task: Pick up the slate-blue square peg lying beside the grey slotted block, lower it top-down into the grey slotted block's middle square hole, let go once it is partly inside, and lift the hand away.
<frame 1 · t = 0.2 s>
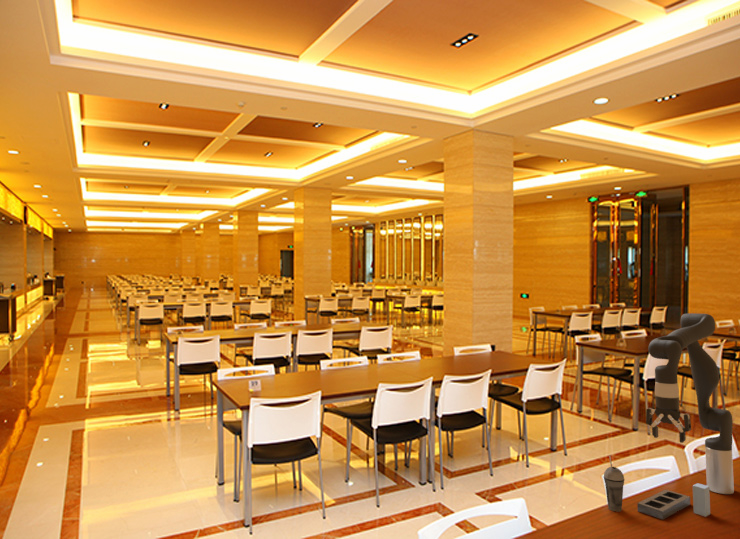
hand: (668, 439, 185), 28 cm above the table, tool pointing down, fingers open, 8 cm apart
peg: (701, 513, 188), on the table
beverage cup: (614, 509, 192), on the table
grey slotted block: (664, 507, 193), on the table
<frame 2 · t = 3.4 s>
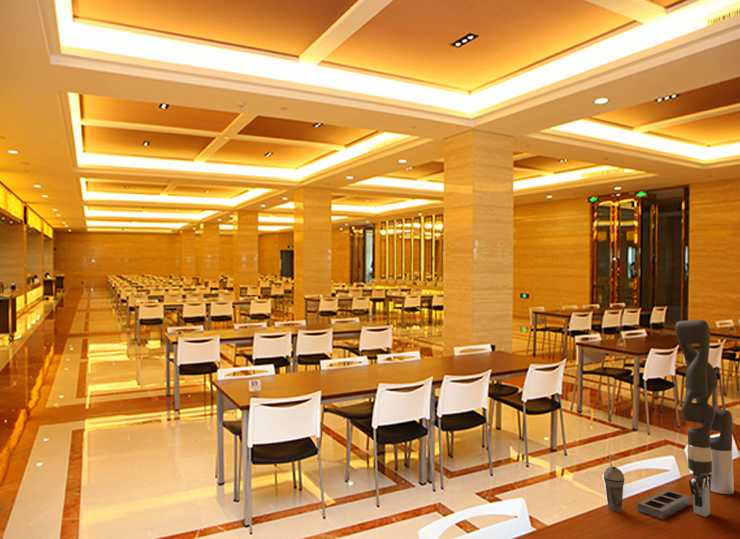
hand: (701, 504, 188), 3 cm above the table, tool pointing down, fingers closed on peg, 4 cm apart
peg: (701, 513, 188), on the table, touching gripper
everything else where it was.
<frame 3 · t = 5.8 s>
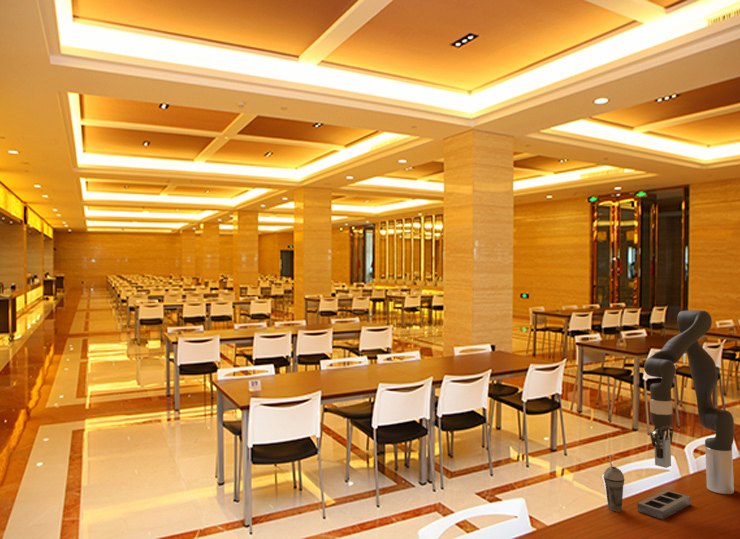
hand: (662, 456, 193), 19 cm above the table, tool pointing down, fingers closed on peg, 4 cm apart
peg: (663, 465, 193), point 16 cm above the table, touching gripper
everything else where it was.
when the fingers open (5 cm above the table, at t = 8.2 s): peg drops 1 cm, resting in grey slotted block.
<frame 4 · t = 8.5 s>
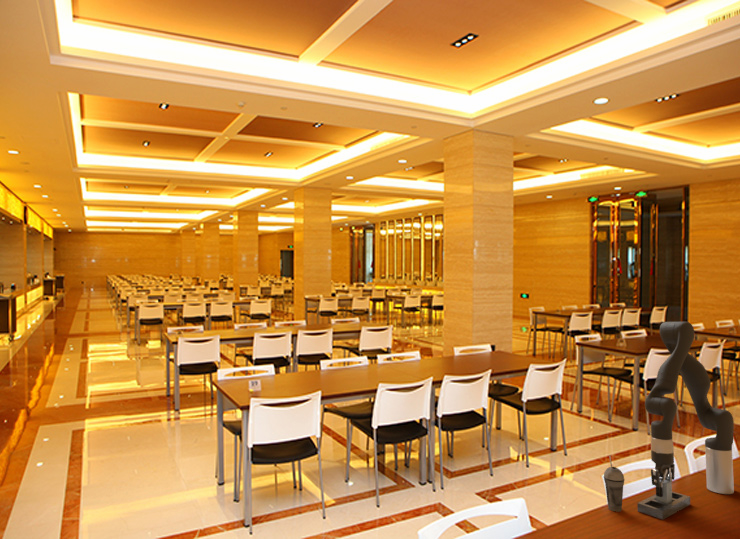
hand: (663, 494, 193), 5 cm above the table, tool pointing down, fingers open, 6 cm apart
peg: (664, 507, 193), resting in grey slotted block
everything else where it was.
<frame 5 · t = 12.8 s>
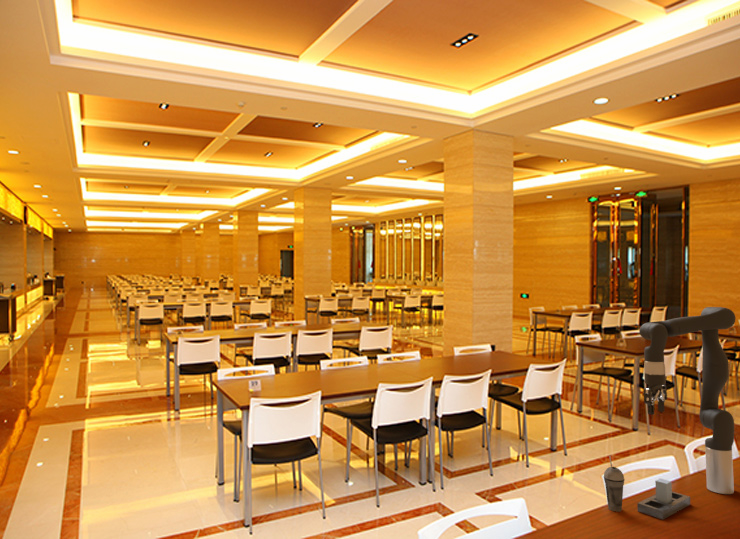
hand: (656, 412, 205), 33 cm above the table, tool pointing down, fingers open, 8 cm apart
nothing on the table moved.
at the end: peg 0.1 cm off-centre on the grey slotted block, point 0.0 cm above the grey slotted block's base; peg tilted 0°; the gripper is holding nothing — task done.
